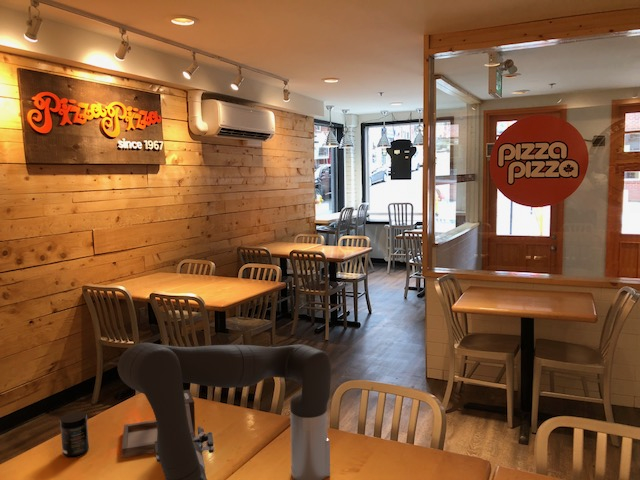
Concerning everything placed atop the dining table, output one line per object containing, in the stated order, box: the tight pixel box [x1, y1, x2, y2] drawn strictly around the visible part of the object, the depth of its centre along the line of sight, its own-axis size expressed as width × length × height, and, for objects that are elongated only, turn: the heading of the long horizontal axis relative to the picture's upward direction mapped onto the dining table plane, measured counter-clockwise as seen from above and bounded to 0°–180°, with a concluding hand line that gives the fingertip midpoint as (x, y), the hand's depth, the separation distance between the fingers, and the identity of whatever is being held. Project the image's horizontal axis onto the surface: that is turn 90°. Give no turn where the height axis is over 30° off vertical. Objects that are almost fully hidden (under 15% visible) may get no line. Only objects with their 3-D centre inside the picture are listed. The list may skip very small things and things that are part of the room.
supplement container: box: [59, 410, 90, 459], centre depth 144 cm, size 7×7×10 cm
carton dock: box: [121, 419, 157, 458], centre depth 150 cm, size 11×14×2 cm
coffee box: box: [183, 389, 196, 438], centre depth 143 cm, size 9×6×16 cm
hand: (182, 432), depth 138 cm, fingers open, 8 cm apart
